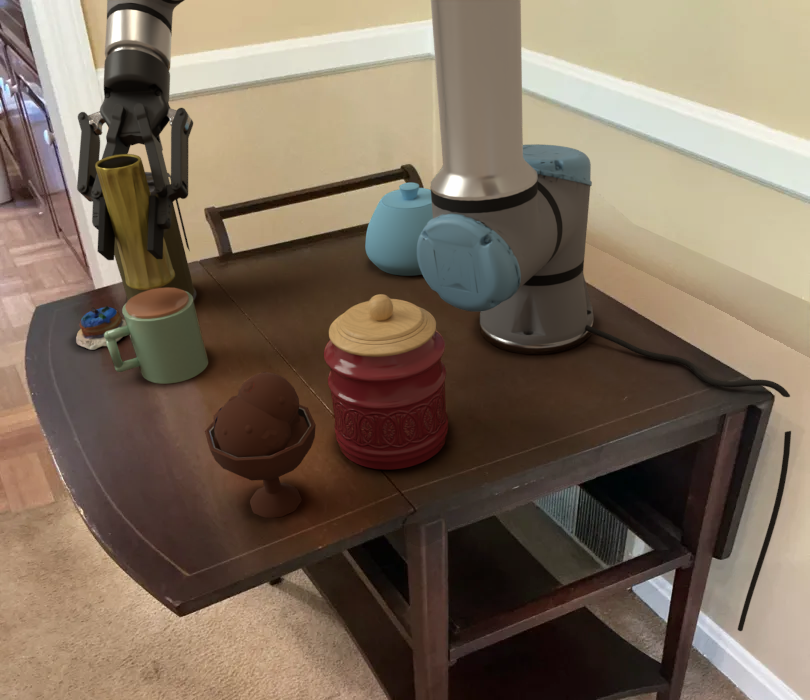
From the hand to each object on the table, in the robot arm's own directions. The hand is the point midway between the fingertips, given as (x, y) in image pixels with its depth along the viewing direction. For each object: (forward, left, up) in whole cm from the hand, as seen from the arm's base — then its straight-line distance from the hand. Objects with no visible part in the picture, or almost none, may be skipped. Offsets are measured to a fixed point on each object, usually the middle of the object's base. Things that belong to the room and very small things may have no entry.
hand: (130, 254), depth 100 cm
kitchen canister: (-29, -18, -17) cm, 38 cm away
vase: (+3, -2, -5) cm, 6 cm away
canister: (+24, -7, -17) cm, 30 cm away
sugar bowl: (+13, -45, -17) cm, 50 cm away
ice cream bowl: (-32, -2, -17) cm, 36 cm away
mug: (+3, -1, -17) cm, 17 cm away
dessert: (+18, +4, -17) cm, 25 cm away
